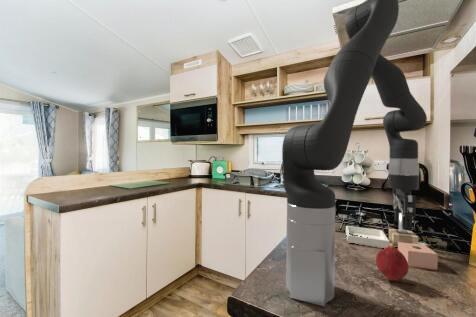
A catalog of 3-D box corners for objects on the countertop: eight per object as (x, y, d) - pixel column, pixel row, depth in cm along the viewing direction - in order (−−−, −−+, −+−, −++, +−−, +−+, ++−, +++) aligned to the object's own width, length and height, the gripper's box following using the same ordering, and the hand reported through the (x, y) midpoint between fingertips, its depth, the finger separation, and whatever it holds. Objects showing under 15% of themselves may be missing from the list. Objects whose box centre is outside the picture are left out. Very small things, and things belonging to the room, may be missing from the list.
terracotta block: (437, 270, 52) (437, 253, 52) (408, 266, 54) (408, 250, 54) (424, 259, 58) (424, 244, 58) (397, 256, 59) (397, 241, 60)
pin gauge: (407, 247, 65) (407, 214, 66) (399, 246, 66) (399, 213, 66) (405, 244, 67) (405, 212, 67) (397, 243, 68) (398, 212, 68)
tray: (389, 249, 64) (389, 241, 64) (347, 243, 68) (347, 235, 68) (381, 237, 74) (381, 230, 74) (345, 232, 78) (345, 225, 78)
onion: (414, 290, 44) (415, 250, 44) (382, 286, 45) (383, 247, 45) (399, 275, 49) (399, 240, 49) (371, 272, 51) (371, 237, 51)
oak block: (418, 251, 63) (418, 237, 63) (393, 247, 65) (393, 234, 65) (411, 243, 68) (411, 231, 68) (388, 240, 71) (388, 228, 71)
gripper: (383, 171, 75) (383, 218, 75) (394, 174, 62) (394, 230, 62) (410, 172, 72) (410, 221, 72) (427, 175, 59) (427, 234, 59)
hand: (402, 225), depth 67 cm, fingers open, 8 cm apart
